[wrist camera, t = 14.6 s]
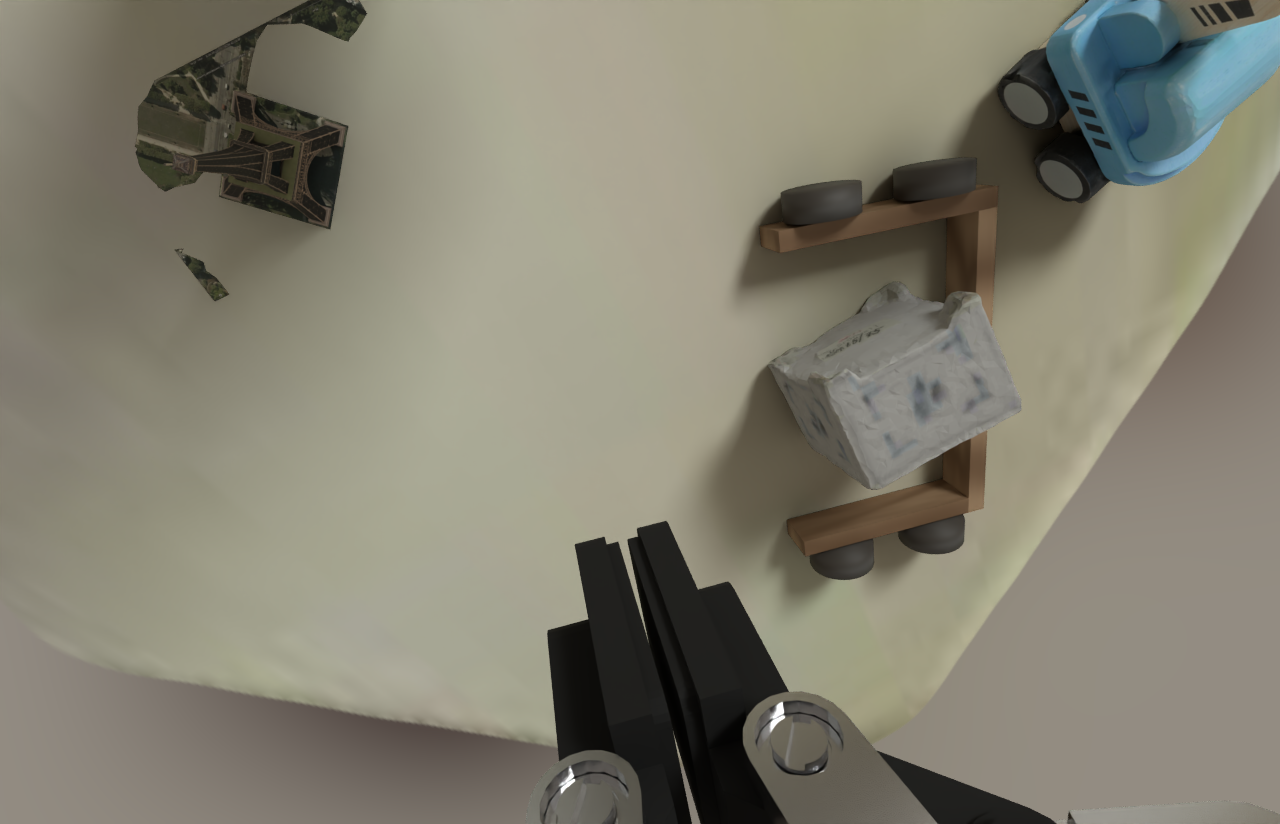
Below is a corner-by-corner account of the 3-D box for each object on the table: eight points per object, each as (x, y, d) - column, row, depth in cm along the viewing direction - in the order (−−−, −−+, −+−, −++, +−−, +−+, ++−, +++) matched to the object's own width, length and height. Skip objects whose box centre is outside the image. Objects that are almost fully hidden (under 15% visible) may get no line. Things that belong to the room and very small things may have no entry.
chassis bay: (756, 195, 39) (785, 199, 35) (965, 153, 40) (1017, 152, 36) (790, 553, 49) (815, 589, 45) (956, 508, 50) (995, 539, 46)
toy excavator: (1053, -139, 35) (1494, -375, 20) (1159, 116, 42) (1552, 92, 26) (929, -21, 36) (1255, -155, 21) (1051, 210, 43) (1369, 242, 27)
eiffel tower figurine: (352, -24, 32) (256, -137, 19) (465, 175, 36) (445, 186, 23) (78, 122, 32) (-189, 101, 19) (223, 305, 36) (77, 382, 24)
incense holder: (887, 263, 42) (1000, 295, 32) (922, 370, 45) (1034, 427, 36) (753, 338, 42) (827, 392, 32) (798, 440, 45) (877, 515, 36)
